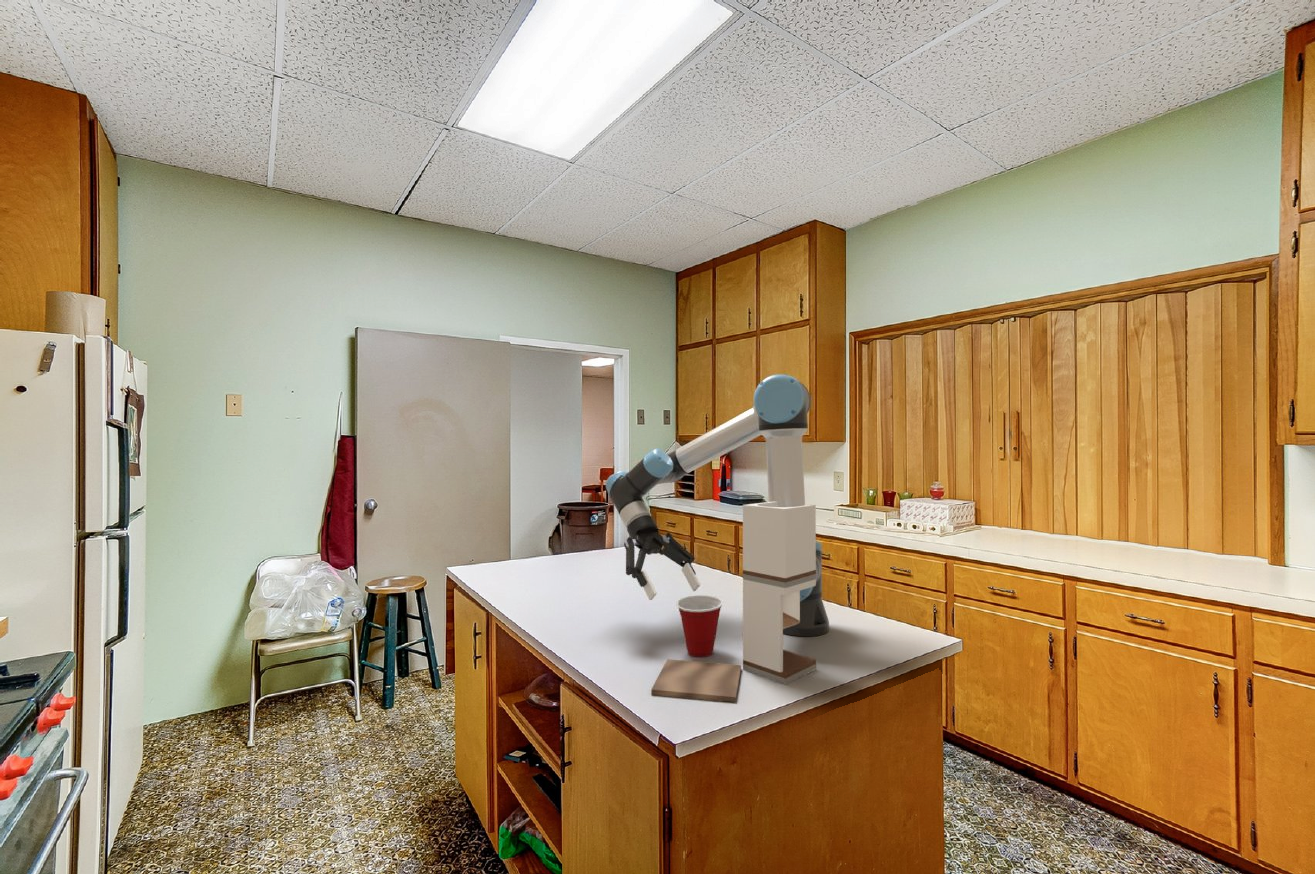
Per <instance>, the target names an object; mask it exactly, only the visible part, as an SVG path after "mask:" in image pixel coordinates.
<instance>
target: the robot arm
mask: <svg viewBox="0 0 1315 874" xmlns="http://www.w3.org/2000/svg"><path fill="white" fill-rule="evenodd" d="M811 406H812V398H811V394H810V392H809V389H808V388H807V387H806V386H805V384H803V383H802V382H800V381H799V379H797V378H796V377H794V376H792V375H789V374H773V375H770V376H767V377H766V378H764V379H763V380H762V381H760V383H759V384H758V385H757V387H756V388H755V391H754V394H753V406H752V407H751V408H750V409H748V410H746V411H743V412H742V413H740V414H738V415H737V416H735V417H734V418H731V419H729V420H728V421H726V422H724V423H722V424H721V425H718V426H716V427H715V428H713V429H711V430H709V431H708V432H706V433H704V434H702V435H700V436H698V437H697V438H695V439H693V440H690V441H689V442H688V443H686V444H684V445H682V446H680V447H678V448H677V449H675V450H673V451H671V452H670V453H668V454H667V453H666V452H665V451H664V450H661V449H660V448H655V449H652V450H651V451H650V452H649V453H647V454H646V455H645V456H644V457H643V458H642V459H641V460H640V461H639V462H638V463H636V465H635V466H634V467H632V468H631V470H629V471H628V472H627V471H626V470H625V471H624V470H623V471H622V470H621V471H617V472H615V473H614V474H611V475H610V476H609V477H608V478H607V480H606V482H605V489H606V491H607V494H608V495H609V499H610V501H611V502H612V503H613V505H614V507H615V509H616V512H617V514H618V515H619V517H620V520H621V521H622V523H623V526H624V528H625V529H626V532H627V534H628V535H629V536H628V537H627V539H626V540H625V541H624V544H623V546H624V549H625V574H626V575H627V576H630V575H631V577H632V578H633V579H636V581H637V582H638V585H639V586H640V587H641V588H643V590H644V592H645V594H646V596H647V597H648V598H647V599H648V601H652V600H653V599H654V598H655V597H656V596H657V594H658V593H657V592H658V591H657V590H656V589H655V587H654V585H653V582H652V580H651V578H650V577H649V575H648V573H647V571H646V569H643V566H644V563H645V559H646V557H647V555H649V556H650V555H654V554H659V555H661V556H665V557H666V558H668V559H669V560H670V561H673V562H674V563H676V564H677V565H679V566H680V567H681V569H680V570H681V572H682V574H683V575H684V577H685V579H686V581H687V583H688V585H689V586H690V588H691V590H692V592H697V590H698V589H699V587H700V586H701V583H700V581H699V579H698V578H697V576H696V575H697V574H696V573H697V572H696V571H695V569H694V567H693V565H692V563H693V562H694V561H695V559H696V558H695V556H694V555H692V554H691V553H690V551H688V550H687V549H686V548H685V547H684V546H682V545H681V544H680V543H679V542H678V541H677V540H676V539H675V538H674V537H673V535H672V534H671V533H670V532H667V533H666V534H665V535H661V534H660V532H659V526H658V525H657V522H656V520H655V519H654V518H653V516H652V514H651V512H650V510H649V508H648V506H647V504H646V503H645V501H644V498H643V497H644V496H646V495H647V494H648V493H649V492H650V491H651V490H652V489H653V488H654V487H656V486H657V485H661V484H668V483H670V484H672V483H676V482H678V481H679V480H682V478H683V477H684V476H686V475H688V474H689V473H691V472H692V471H695V470H697V469H699V468H700V467H703V466H704V465H706V464H708V463H710V462H712V461H714V460H716V459H718V458H720V457H722V456H723V455H725V454H728V453H729V452H731V451H733V450H735V449H737V448H739V447H741V446H743V445H745V444H746V443H748V442H750V441H753V440H754V439H756V438H758V437H760V436H763V438H764V439H765V451H766V452H765V453H766V454H765V455H766V471H767V472H766V473H767V474H766V475H767V476H766V477H767V493H768V497H767V498H768V502H777V507H798V506H806V497H805V496H806V495H805V478H804V476H805V474H804V457H803V436H804V435H805V434H806V432H807V431H808V429H809V428H808V414H809V411H810V410H811ZM635 547H636V548H637V549H638V554H637V559H636V563H635V555H636V554H635V553H636V551H635ZM822 549H823V548H822V544H821V542H820V541H818V540H816V586H813V587H810V588H807V589H804V590H800V623H799V624H797V625H794V626H791V627H788V628H785V629H783V635H784V634H785V635H790V636H795V637H816V636H821V635H824V634H826V633H828V632H829V631H830V621H829V617H828V614H827V610H826V608H825V605H824V601H823V596H822V595H823V593H822V592H823V591H822V590H823V584H822V583H823V580H822V579H823V578H822V577H823V574H822V573H823V572H822V571H823V568H822V564H823V562H822V561H823V560H822V558H823V556H822V555H823V550H822Z"/></svg>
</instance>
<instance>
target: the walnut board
mask: <svg viewBox="0 0 1315 874" xmlns="http://www.w3.org/2000/svg"><path fill="white" fill-rule="evenodd" d="M741 672H742V665H741V664H731V663H718V662H707V661H695V660H683V659H669V658H667V659H666V660H665V663H664V665H663V666H662V669H661V670H660V672H659V674H658V677H657V678H656V680H655V682H654V684H653V686H652V687H651V691H650V692H651V696H658V697H659V696H662V697H670V696H671V697H673V698H681V699H692V700H705V701H713V700H715V702H724V701H730V702H729V703H735V702H737V697H738V696H737V695H738V691H737V690H739V684H740V679H741V674H742V673H741ZM736 696H737V697H736ZM719 700H721V701H719Z"/></svg>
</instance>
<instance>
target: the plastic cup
mask: <svg viewBox="0 0 1315 874" xmlns="http://www.w3.org/2000/svg"><path fill="white" fill-rule="evenodd" d="M723 603H724V601H723V599H722V598H720V597H717V596H714V595H708V594H700V595H699V594H698V595H697V594H695V595H689V596H685V597H681V598H680V599H678V600H677V601H676V603H675V605H676V607H677V609H678V612H679V615H680V619H681V625H682V629H683V636H684V639H685V645H686V650H687V653H688V655H690V656H691V657H696V658H706V657H710V656H711V655H713V651H714V649H715V641H716V638H717V637H716V636H717V631H718V623H719V617H720V612H721V610H722V609H721V608H722V606H723Z"/></svg>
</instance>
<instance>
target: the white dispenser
mask: <svg viewBox="0 0 1315 874" xmlns="http://www.w3.org/2000/svg"><path fill="white" fill-rule="evenodd" d="M816 513H817V511H816V504H808V505H806V504H805V506H798V507H777V502H769V501H767V502H766V501H765V502H759V503H758V502H757V503H756V502H755V503H749V504H742V670H743V671H747V672H749V673H752V674H754V675H758V676H760V677H764V678H765V679H769V680H771V681H774V680H775V681H774V682H776V683H777V682H778V683H780V684H782V683H783V685H788V684H789V683H791V682H793V681H795V680H797V679H799V677H800V676H802V677H803V675H804V674H806V673H808V672H810V671H812V670H814V669H816V670H817V659H816V658H811V657H808V656H805V655H801V654H799V653H795V652H792V651H789V650H786V649H784V633H783V629H785V628H788V627H791V626H794V625H797V624H799V623H800V590H804V589H807V588H810V587H813V586H816V541H817V540H816V539H817V538H816V537H817V536H816V534H817V533H816V532H817V531H816V530H817V529H816V526H817V524H816V523H817V521H816V520H817V519H816V518H817V517H816V515H817V514H816ZM814 671H815V670H814ZM812 672H813V671H812ZM810 673H811V672H810ZM808 674H809V673H808ZM806 675H807V674H806ZM804 676H805V675H804ZM800 678H801V677H800Z"/></svg>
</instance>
